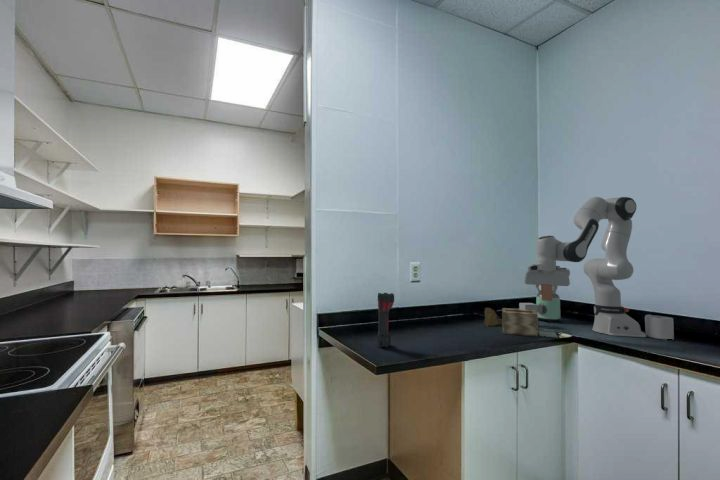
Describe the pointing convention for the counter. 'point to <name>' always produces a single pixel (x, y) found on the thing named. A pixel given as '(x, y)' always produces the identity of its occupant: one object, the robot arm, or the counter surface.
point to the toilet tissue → (659, 327)
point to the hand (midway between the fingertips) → (546, 294)
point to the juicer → (549, 307)
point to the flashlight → (384, 319)
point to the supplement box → (529, 307)
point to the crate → (519, 322)
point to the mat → (547, 334)
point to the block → (546, 292)
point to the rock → (491, 317)
